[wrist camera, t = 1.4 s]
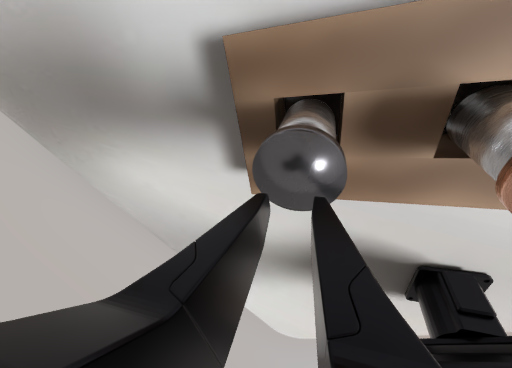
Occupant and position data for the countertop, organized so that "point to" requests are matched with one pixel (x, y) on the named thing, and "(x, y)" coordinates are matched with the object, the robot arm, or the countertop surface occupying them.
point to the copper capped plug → (487, 134)
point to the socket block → (381, 92)
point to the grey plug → (301, 158)
